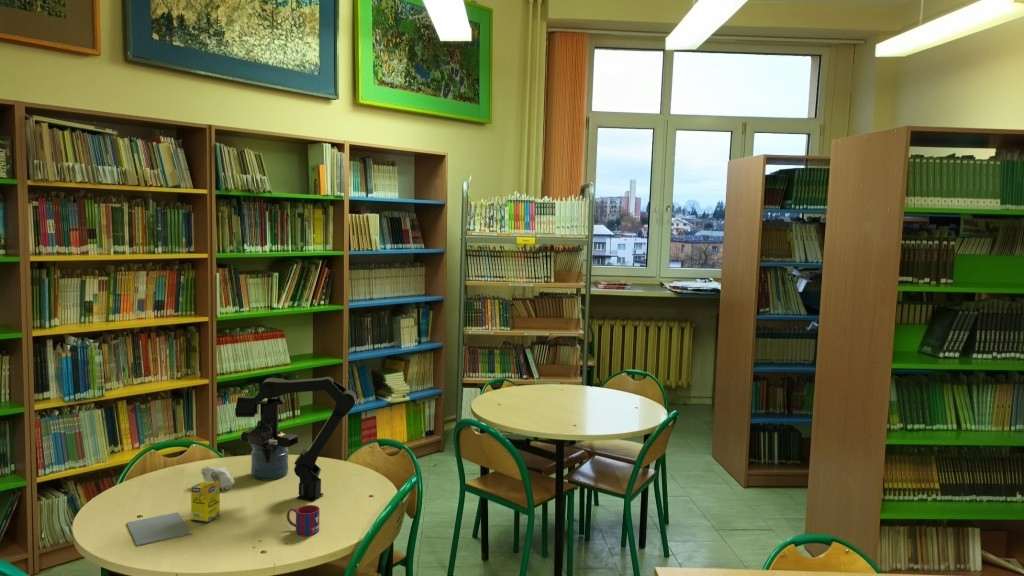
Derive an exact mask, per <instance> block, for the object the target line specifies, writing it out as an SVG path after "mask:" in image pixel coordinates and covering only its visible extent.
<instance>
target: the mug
mask: <svg viewBox="0 0 1024 576" xmlns="http://www.w3.org/2000/svg"><path fill="white" fill-rule="evenodd" d="M290 512H294V513H295V523H294V522H293V521H292V520H291V517H290ZM286 520H287V522H288V523H289V524H290V525H291V526H292V527H294V528H295V534H296V535H297V536H300V537H311V536H314V535H316V534H317V533H319V532H320V507H319V506H318V505H314V504H306V505H305V504H304V505H302V506H298V507H297V508H290V509H289V510H288V511H287V512H286Z"/></svg>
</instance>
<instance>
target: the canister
mask: <svg viewBox="0 0 1024 576" xmlns="http://www.w3.org/2000/svg"><path fill="white" fill-rule="evenodd" d="M285 434H286V433H283V432H282V431H281V434H279V435H278V436H283V435H285ZM250 446H251V448H252V451H251V452H250V454H251V455H250V456H251V459H250V461H251V467H250V474H251V478H253V479H255V480H258V481H259V480H260V481H269V480H270V481H272V480H277V479H281V478H283V477H285V476H287V475H288V473H289V472H288V471H289V452H290V451H289V449H288V447H281V446H279V447H278V449H277V451H276V453H275V455H274V457H273V459H272V461H271V463H267V462H266V459H265V457H264V454H263V451H262V449H261V448H260V447H259V446H257V445H255V444H250Z"/></svg>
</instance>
